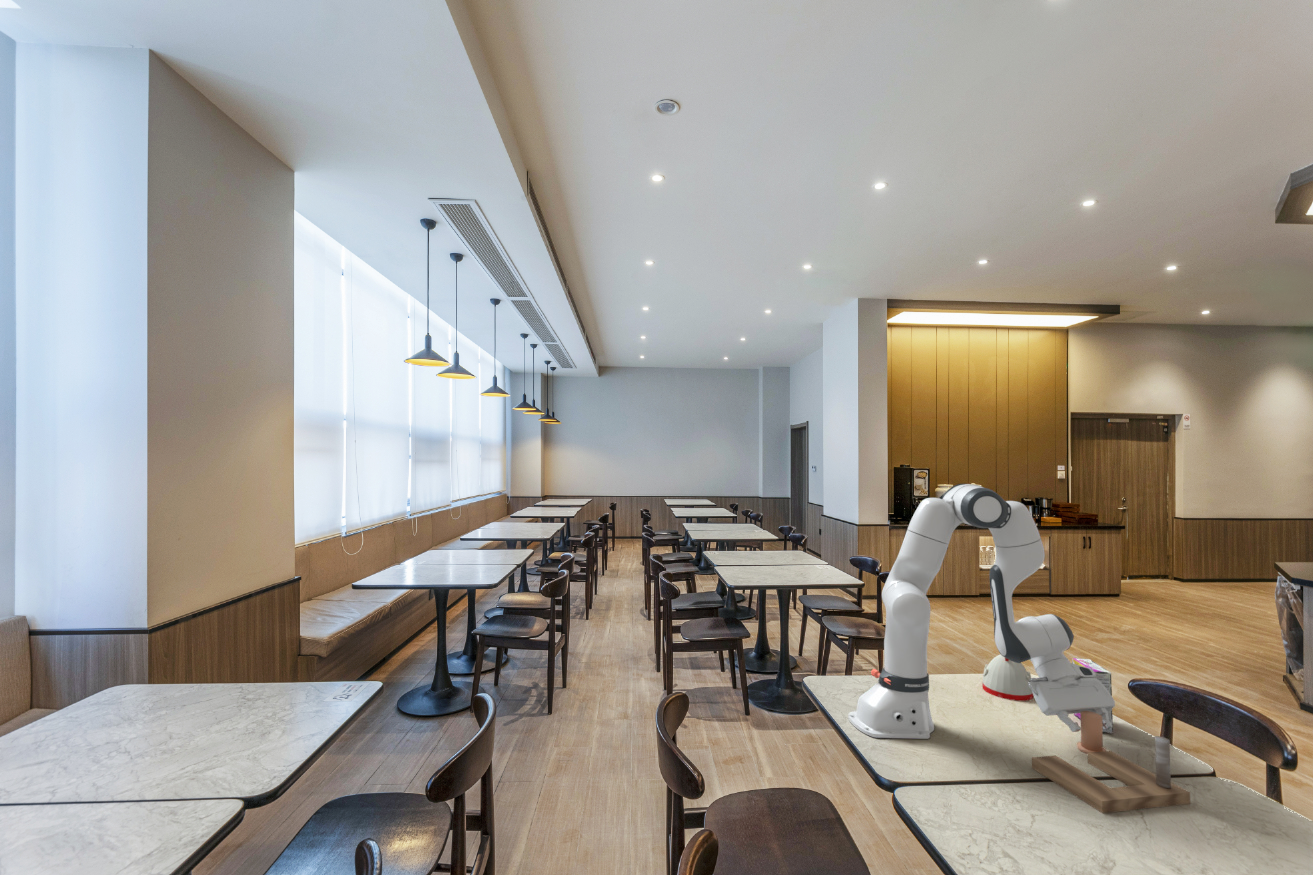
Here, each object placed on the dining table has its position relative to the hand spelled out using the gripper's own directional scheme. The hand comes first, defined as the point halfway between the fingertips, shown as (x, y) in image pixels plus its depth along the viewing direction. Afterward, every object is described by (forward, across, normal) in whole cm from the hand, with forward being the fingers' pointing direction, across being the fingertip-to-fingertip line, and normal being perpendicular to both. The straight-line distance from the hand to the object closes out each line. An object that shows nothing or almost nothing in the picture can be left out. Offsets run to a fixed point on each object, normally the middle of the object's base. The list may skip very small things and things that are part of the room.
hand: (1092, 729), depth 146 cm
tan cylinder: (+4, 0, +4) cm, 5 cm away
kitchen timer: (-22, +8, +30) cm, 39 cm away
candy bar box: (-6, +14, +13) cm, 20 cm away
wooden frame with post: (+13, -11, -6) cm, 18 cm away
